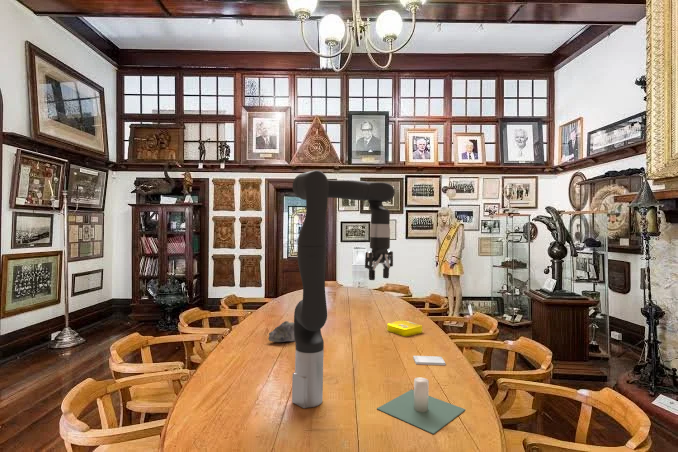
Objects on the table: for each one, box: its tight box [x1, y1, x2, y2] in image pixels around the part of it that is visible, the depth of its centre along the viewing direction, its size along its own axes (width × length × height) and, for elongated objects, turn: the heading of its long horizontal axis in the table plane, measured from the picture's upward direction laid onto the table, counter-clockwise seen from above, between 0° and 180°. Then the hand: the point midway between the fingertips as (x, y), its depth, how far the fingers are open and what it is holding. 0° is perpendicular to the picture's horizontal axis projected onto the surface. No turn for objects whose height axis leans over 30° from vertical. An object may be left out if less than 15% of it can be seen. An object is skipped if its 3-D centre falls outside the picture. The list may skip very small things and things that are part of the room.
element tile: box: [386, 319, 423, 337], centre depth 209 cm, size 15×15×5 cm
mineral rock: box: [268, 320, 295, 343], centre depth 187 cm, size 13×11×10 cm
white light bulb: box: [413, 377, 430, 412], centre depth 119 cm, size 4×4×9 cm
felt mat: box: [376, 389, 466, 435], centre depth 119 cm, size 20×20×1 cm
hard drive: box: [412, 355, 446, 366], centre depth 163 cm, size 2×8×12 cm
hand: (379, 279), depth 141 cm, fingers open, 8 cm apart
